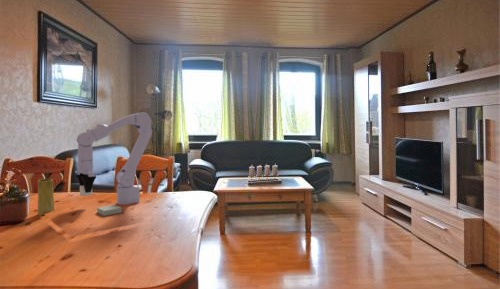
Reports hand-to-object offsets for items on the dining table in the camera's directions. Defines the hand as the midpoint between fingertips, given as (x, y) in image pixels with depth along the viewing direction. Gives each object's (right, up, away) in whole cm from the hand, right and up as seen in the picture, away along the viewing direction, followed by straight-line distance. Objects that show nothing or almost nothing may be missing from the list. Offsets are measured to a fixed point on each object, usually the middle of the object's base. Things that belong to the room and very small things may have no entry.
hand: (86, 191), depth 137 cm
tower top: (+14, -7, -8) cm, 18 cm away
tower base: (+14, -10, -8) cm, 19 cm away
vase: (-14, -9, -6) cm, 17 cm away
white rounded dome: (0, -1, 0) cm, 1 cm away
